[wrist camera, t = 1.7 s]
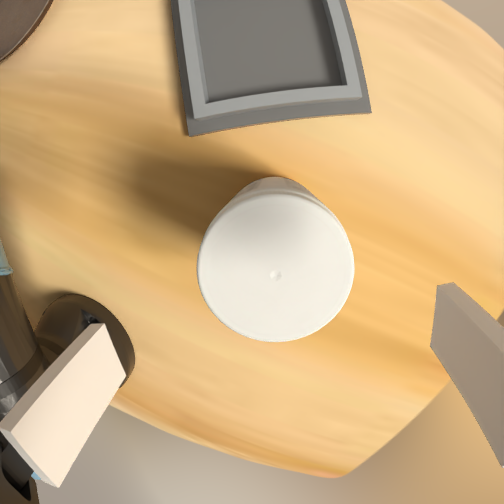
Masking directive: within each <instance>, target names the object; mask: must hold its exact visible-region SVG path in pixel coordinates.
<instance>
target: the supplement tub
mask: <svg viewBox="0 0 504 504" xmlns="http://www.w3.org/2000/svg"><path fill="white" fill-rule="evenodd" d="M353 277H354V258H353V252H352V248H351V245H350V242H349V240H348V237H347V235H346V233H345V230H344V228H343V226H342V225H341V223H340V222H339V220H338V219H337V218H336V216H335V215H334V214H333V213H332V212H331V211H330V210H329V209H328V208H327V207H326V206H325V205H324V204H323V203H322V202H321V201H320V200H318V199H317V198H316V197H315V196H314V195H313V194H312V193H311V192H310V191H308V190H307V189H306V188H305V187H304V186H302V185H301V184H299V183H297V182H295V181H293V180H291V179H287V178H283V177H267V178H262V179H259V180H256V181H254V182H252V183H250V184H248V185H247V186H245V187H244V188H243V189H242V190H240V191H239V192H238V193H237V194H236V195H235V196H234V197H233V198H232V199H231V201H230V202H229V203H228V204H227V205H226V206H225V207H224V208H223V209H222V210H221V211H220V212H219V213H218V214H217V215H216V217H215V218H214V219H213V221H212V222H211V223H210V225H209V227H208V229H207V230H206V233H205V235H204V237H203V240H202V243H201V245H200V249H199V253H198V258H197V278H198V284H199V287H200V291H201V294H202V296H203V298H204V300H205V302H206V304H207V305H208V307H209V308H210V310H211V311H212V313H213V314H214V315H215V316H216V317H217V318H218V319H219V320H220V321H221V322H222V323H223V324H224V325H226V326H227V327H228V328H230V329H231V330H233V331H235V332H237V333H239V334H241V335H243V336H245V337H248V338H252V339H255V340H260V341H266V342H284V341H291V340H295V339H299V338H302V337H305V336H307V335H310V334H312V333H314V332H315V331H317V330H319V329H320V328H322V327H323V326H325V325H326V324H327V323H328V322H330V321H331V320H332V319H333V318H334V317H335V316H336V314H337V313H338V312H339V311H340V309H341V308H342V306H343V305H344V303H345V301H346V300H347V297H348V295H349V292H350V290H351V287H352V283H353Z"/></svg>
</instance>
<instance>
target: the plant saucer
mask: <svg viewBox="0 0 504 504" xmlns="http://www.w3.org/2000/svg"><path fill="white" fill-rule="evenodd" d="M52 2H53V0H0V60H2V59H4V58H5V57H7V56H8V55H9V54H11V53H12V52H13V51H15V50H16V49H17V48H18V47H19V46H20V45H21V44H22V43H23V42H24V41H25V40H26V39H27V38H28V37H29V36H30V35H31V34H32V33H33V31H34V30H35V29H36V28H37V26H38V25H39V24H40V22H41V21H42V19H43V18H44V16H45V15H46V13H47V11H48V10H49V8H50V6H51V4H52Z"/></svg>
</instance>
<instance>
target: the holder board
mask: <svg viewBox="0 0 504 504" xmlns="http://www.w3.org/2000/svg"><path fill="white" fill-rule="evenodd" d="M171 8H172V17H173V25H174V34H175V42H176V50H177V57H178V65H179V72H180V80H181V87H182V94H183V100H184V107H185V114H186V120H187V127H188V133H189V136H190V137H194V136H198V135H203V134H208V133H213V132H218V131H224V130H229V129H235V128H241V127H247V126H253V125H260V124H266V123H273V122H281V121H289V120H297V119H306V118H316V117H327V116H340V115H355V114H370V113H372V112H371V106H370V100H369V95H368V90H367V85H366V80H365V75H364V70H363V66H362V61H361V57H360V52H359V48H358V44H357V40H356V36H355V33H354V29H353V25H352V22H351V18H350V15H349V11H348V8H347V4H346V1H345V0H171Z"/></svg>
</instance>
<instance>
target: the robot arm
mask: <svg viewBox="0 0 504 504" xmlns="http://www.w3.org/2000/svg"><path fill="white" fill-rule="evenodd" d="M12 273H13V269H12V267H11V266H9V263H8V260H7V257H6V254H5V251H4V247H3V244H2V241H1V238H0V504H39V499H38V494H37V487H36V483H35V480H34V479H37V480H40V479H42V480H43V481H44V482H46V483H48V484H50V485H53V486H55V487H58V488H59V487H60V485H61V483H62V481H63V480H64V478H65V476H66V474H67V473H68V471H69V469H70V467H71V466H72V464H73V462H74V461H75V459H76V457H77V455H78V454H79V452H80V450H81V449H82V447H83V445H84V444H85V442H86V440H87V439H88V437H89V435H90V434H91V432H92V430H93V429H94V427H95V425H96V423H97V422H98V420H99V419H100V417H101V416H102V414H103V412H104V411H105V409H106V407H107V406H108V404H109V403H110V401H111V399H112V398H113V396H114V395H115V393H116V391H117V390H118V389H119V388H120V387H122V386H123V385H124V383H125V382H126V381H127V379H128V378H129V376H130V374H131V373H132V371H133V368H134V364H135V354H134V349H133V345H132V343H131V340H130V338H129V336H128V334H127V332H126V331H125V329H124V328H123V326H122V325H121V323H120V322H119V321H118V320H117V319H116V318H115V316H114V315H113V314H112V313H111V312H109V311H108V310H107V309H106V308H105V307H103V306H102V305H101V304H99V303H97V302H96V301H94V300H92V299H90V298H87V297H84V296H81V295H74V294H71V295H65V296H62V297H60V298H59V299H57V300H56V301H55V302H53V303H52V304H51V305H50V306H48V308H47V309H46V310H45V312H44V314H43V316H42V318H41V319H40V321H39V323H38V325H37V327H36V329H35V331H34V332H33V329H32V327H31V325H30V322H29V320H28V317H27V315H26V312H25V310H24V307H23V304H22V302H21V299H20V296H19V293H18V291H17V288H16V285H15V282H14V279H13V276H12ZM430 347H431V348H432V350H433V351H434V353H435V354H436V356H437V357H438V359H439V360H440V362H441V363H442V365H443V366H444V368H445V370H446V371H447V373H448V374H449V376H450V377H451V379H452V381H453V382H454V384H455V385H456V387H457V388H458V390H459V392H460V393H461V395H462V397H463V398H464V400H465V402H466V403H467V405H468V407H469V408H470V410H471V412H472V413H473V415H474V417H475V419H476V420H477V422H478V424H479V426H480V427H481V429H482V431H483V433H484V435H485V436H486V438H487V440H488V442H489V444H490V446H491V448H492V450H493V451H494V453H495V455H496V457H497V459H498V461H499V463H500V465H501V467H502V468H503V467H504V328H503V327H502V326H501V325H500V324H499V323H498V322H497V321H496V320H495V319H494V318H493V317H492V316H491V315H490V314H489V313H487V312H486V311H485V310H484V309H483V308H482V307H481V306H480V305H479V304H478V303H476V302H475V301H474V300H473V299H472V298H471V297H470V296H469V295H467V294H466V293H465V292H464V291H463V290H462V289H460V288H459V287H458V286H457V285H456V284H455V283H453V282H452V283H448V284H443V285H438V286H437V292H436V303H435V313H434V322H433V329H432V337H431V343H430Z"/></svg>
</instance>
